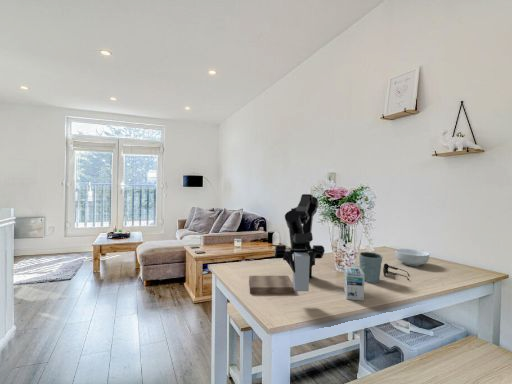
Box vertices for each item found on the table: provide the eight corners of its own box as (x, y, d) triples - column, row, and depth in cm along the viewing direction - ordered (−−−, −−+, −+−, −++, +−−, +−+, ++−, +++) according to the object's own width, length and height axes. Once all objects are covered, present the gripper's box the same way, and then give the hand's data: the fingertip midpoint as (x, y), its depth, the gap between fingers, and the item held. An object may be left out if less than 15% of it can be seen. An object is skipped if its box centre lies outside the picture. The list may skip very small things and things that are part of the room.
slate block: (305, 286, 107) (306, 252, 107) (308, 291, 102) (309, 256, 102) (292, 286, 107) (293, 252, 107) (294, 291, 102) (296, 256, 102)
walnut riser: (288, 280, 129) (288, 275, 129) (293, 293, 115) (294, 287, 115) (248, 281, 128) (249, 275, 128) (250, 293, 114) (250, 287, 114)
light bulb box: (364, 301, 108) (365, 273, 108) (346, 299, 110) (346, 272, 109) (359, 290, 119) (360, 265, 118) (343, 289, 120) (344, 264, 120)
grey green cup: (367, 275, 139) (368, 251, 139) (386, 281, 131) (387, 255, 130) (353, 278, 134) (354, 253, 133) (372, 285, 125) (373, 258, 125)
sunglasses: (383, 270, 146) (385, 261, 146) (409, 278, 140) (411, 268, 140) (380, 276, 137) (382, 266, 137) (408, 284, 131) (410, 274, 131)
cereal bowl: (431, 264, 160) (432, 251, 160) (425, 270, 147) (426, 257, 147) (399, 258, 171) (399, 246, 171) (391, 264, 159) (391, 251, 158)
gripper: (275, 224, 107) (278, 261, 97) (324, 224, 108) (332, 261, 98) (273, 240, 116) (275, 276, 105) (318, 240, 116) (325, 276, 106)
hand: (301, 272), depth 103 cm, fingers closed on slate block, 5 cm apart
